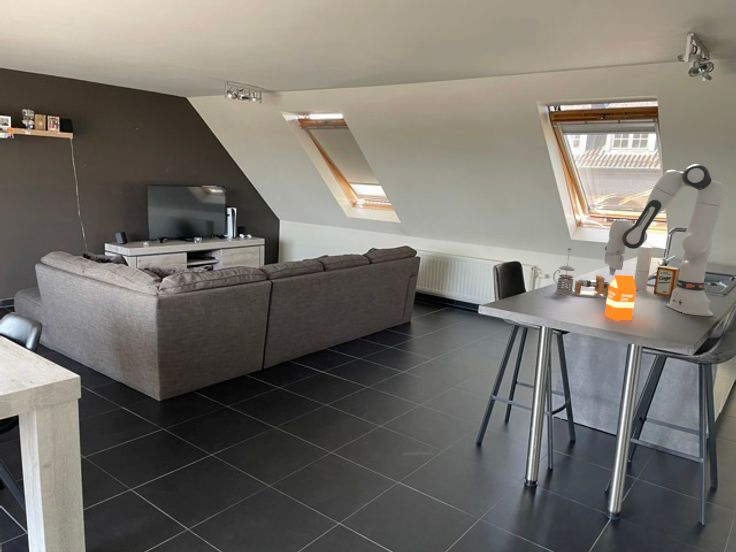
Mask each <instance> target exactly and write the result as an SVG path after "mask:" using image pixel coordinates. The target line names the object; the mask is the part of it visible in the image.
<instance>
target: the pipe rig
mask: <svg viewBox="0 0 736 552" xmlns="http://www.w3.org/2000/svg"><path fill="white" fill-rule="evenodd" d="M599 282H600V281H596V280H590V279H585V280H584V279H576V280H575V283H574V289H572V293H573V292H574V293H575V294H576V295H578V296H577V297H586V296H590V298H599V297H603V298H602V299H607V296H608V289H609V285H610V283H609V282H608V281H604V288H603V294H598V293H597V292H596V291H591V290H582V287H584V288H594V289H595V288H599ZM574 293H573V294H574ZM575 294H574V295H575ZM576 295H575V296H576Z"/></svg>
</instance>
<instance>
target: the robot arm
mask: <svg viewBox="0 0 736 552" xmlns="http://www.w3.org/2000/svg"><path fill="white" fill-rule="evenodd" d="M684 187H690V188H693V189H696V190H697V196H696V199H695V203H694V206H693V210H692V214H691V217H690V220H689V223H688V224H687V228H686V230H685V233H684V236H683V239H682V243H681V244H682V249H683V250H684V251H683V257H682V260H681V263H680V268H679V269H680V272H679V278H678V279H677V284H676V286H677V287H676V288H675V289H674V290H673V291H672V295H671V297H670V300H669V303H666V305H665V306H666V307H668V308H670V309H672V310H674V311H677V312H680V313H681V312H682V314H686V315H693V316H699V317H700V316H702V317H713V316H714V313H713V312H712V311H711V310H710V309H709V308H710V307H709V306H710V305H711V303H712V301H711V300H709V299H708V296H707V295H706V292H705V289H706V287H705V286H706V285H705V282H704V281H705V277H706V271H707V265H708V261H709V258H710V254H711V253H710V252H711V249H712V244H713V238H712V235H713V233H714V230H715V227H716V224H717V222H718V219H719V216H720V211H721V208H722V205H723V202H724V197H725V196H724V195H725V186H724V184H723V183H722V182H720V181H717V180H713V179H712V177H711V173H710V170H709V169H708V167H707V166H706V165H704V164H700V163H697V164H696V163H694V164H692V165H689V166H688V167H686V169H685V170H682V171H678V170H676V169H670V170H667V171H666V172H664V173H663V174H662V176H661V177H660V178H659V179H658V180H657V182H656V184H655V185H654V187H653V188H652V189H651V192H650V193H649V196H648V199H647V201H646V205H645V206H644V209H643V211H642V212H641V214H640V215H639V217H637V218H638V219H637V220H636V221H635V223H634V224H633V223H632V222H630V221H629V220H628V219H617V220H616V219H615V220H614V221H612V223H611V225H610V228H609V235H608V241H607V244H606V246H605V247H604V251H605V253H604V264H606V265H607V266H608V268H609V275H610V276H613V277H614V276H615V275H616V274H615V273H616V271H622V269H623V268H624V255H625V251H626V247H627V248H628V249H630V250H631V249H634V250H635V249H639V247H640V246H643V244H644V243H646V241H647V239H648V233H647V230H648V229H649V227H650V226H651V224H652V223H653V222H654V220H655V218H656V217H657V216H658V215H659V214H660V213H662V212H663V211H665V210H666V209H667V208H668V207H669V206H670V205H671V204H672V202H673V201H674V200H675V198H676V197H677V195H678V194H679V192H680V191H681V190H682V189H683V188H684Z"/></svg>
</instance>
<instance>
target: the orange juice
mask: <svg viewBox="0 0 736 552" xmlns="http://www.w3.org/2000/svg"><path fill="white" fill-rule="evenodd" d="M634 278H635V276H634V275H622V274H621V275H620V274H614V276H613V278H612V280H611V282H610V283H609V284H610V285H609V289H608V296H607V298H606V301H605V304H606V305H605V311H604V317H606V316H607V318H608V317H609V318H608V319H610V318H611V319H613V320H612V321H620V320H632V319H633V314H634V306H635V300H636V299H635V298H636V293H637V289H636V287H635V282H634ZM611 319H610V320H611Z"/></svg>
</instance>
